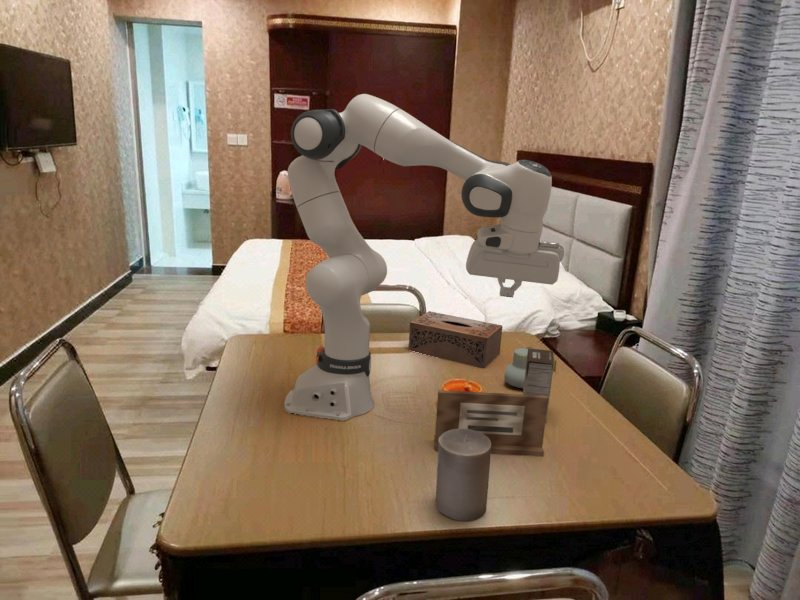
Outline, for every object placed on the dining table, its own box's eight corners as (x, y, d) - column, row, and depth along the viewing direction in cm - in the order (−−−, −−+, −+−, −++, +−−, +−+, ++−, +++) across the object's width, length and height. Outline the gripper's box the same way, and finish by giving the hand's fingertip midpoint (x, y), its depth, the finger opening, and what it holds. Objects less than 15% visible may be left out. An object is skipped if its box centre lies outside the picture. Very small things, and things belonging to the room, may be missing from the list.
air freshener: (511, 374, 172) (515, 343, 169) (539, 380, 168) (543, 348, 166) (501, 388, 162) (505, 354, 159) (530, 394, 159) (534, 360, 156)
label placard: (434, 450, 128) (438, 396, 125) (434, 439, 133) (437, 386, 130) (543, 456, 128) (550, 401, 125) (538, 444, 133) (545, 391, 129)
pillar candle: (481, 490, 115) (486, 422, 111) (490, 522, 106) (497, 448, 101) (432, 490, 114) (436, 421, 110) (437, 522, 105) (442, 448, 101)
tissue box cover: (499, 354, 188) (502, 325, 185) (484, 369, 175) (487, 338, 173) (427, 339, 199) (429, 311, 196) (408, 351, 187) (410, 322, 184)
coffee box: (520, 404, 153) (527, 347, 148) (545, 407, 152) (553, 350, 147) (520, 420, 144) (527, 360, 140) (547, 423, 143) (555, 363, 139)
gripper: (563, 239, 128) (548, 295, 134) (471, 227, 128) (461, 284, 134) (569, 249, 122) (554, 307, 128) (473, 237, 122) (462, 296, 128)
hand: (506, 295), depth 131 cm, fingers closed
